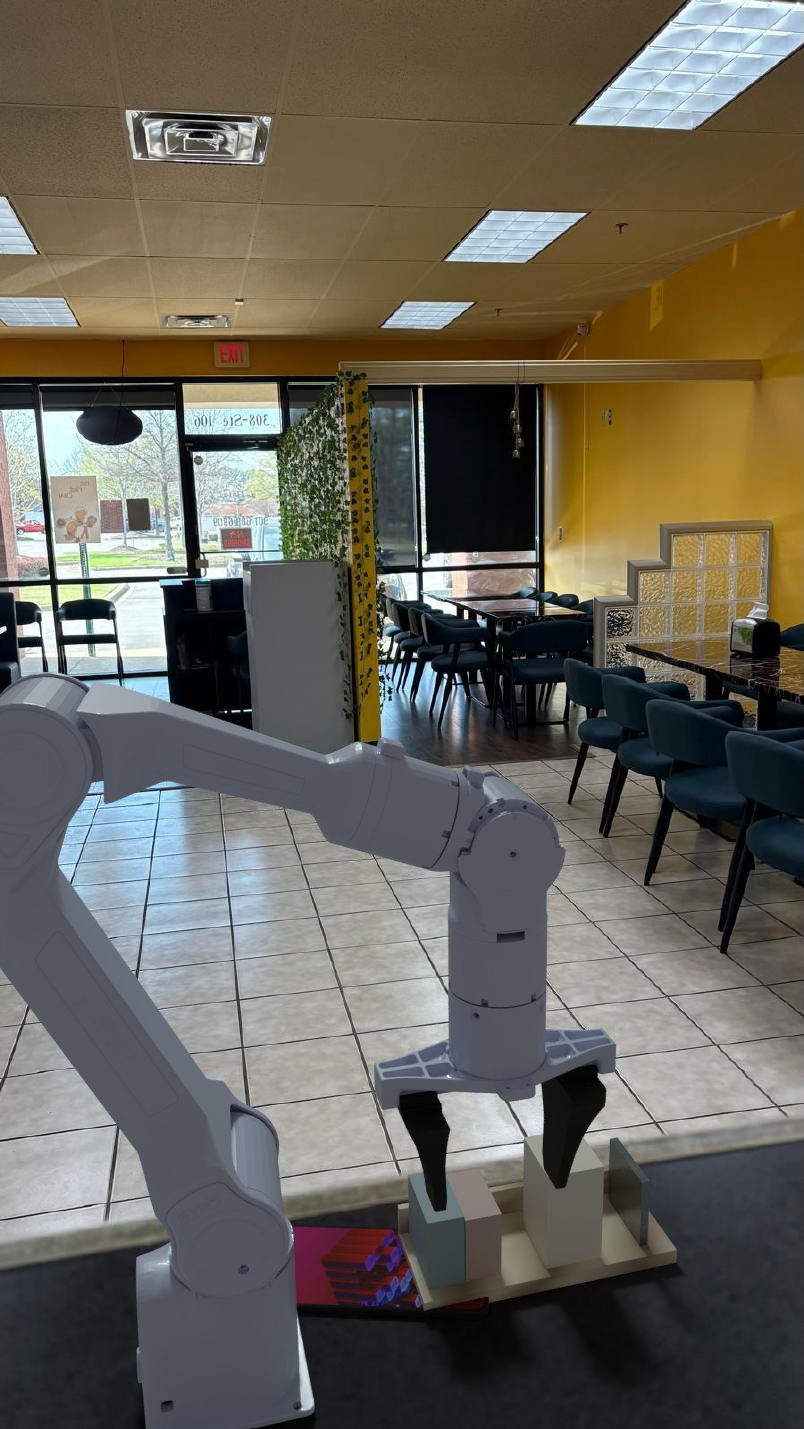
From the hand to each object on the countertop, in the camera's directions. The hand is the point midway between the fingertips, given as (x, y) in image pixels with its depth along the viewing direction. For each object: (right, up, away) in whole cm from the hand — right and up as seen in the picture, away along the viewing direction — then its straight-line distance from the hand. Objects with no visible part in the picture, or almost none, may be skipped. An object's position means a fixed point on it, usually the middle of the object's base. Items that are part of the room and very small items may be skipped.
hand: (496, 1189), depth 62 cm
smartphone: (-7, -10, +8) cm, 14 cm away
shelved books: (-2, -9, +8) cm, 12 cm away
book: (+5, -8, +9) cm, 13 cm away
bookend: (+10, -8, +11) cm, 17 cm away
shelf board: (+4, -9, +9) cm, 13 cm away
